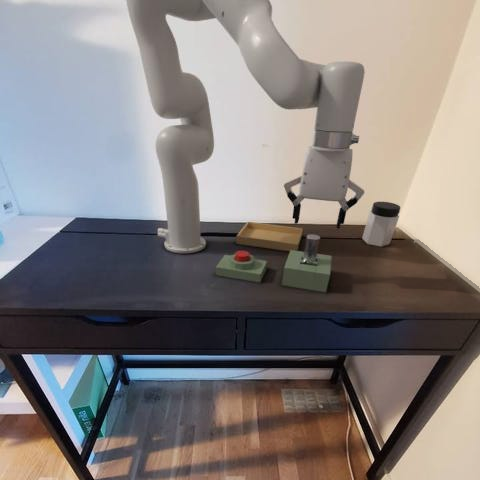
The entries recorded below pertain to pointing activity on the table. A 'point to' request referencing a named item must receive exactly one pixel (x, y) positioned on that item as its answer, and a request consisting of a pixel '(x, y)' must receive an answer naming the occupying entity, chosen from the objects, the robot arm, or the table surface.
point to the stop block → (241, 268)
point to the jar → (381, 223)
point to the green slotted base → (307, 272)
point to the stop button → (242, 256)
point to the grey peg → (311, 250)
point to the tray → (270, 236)
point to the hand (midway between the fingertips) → (317, 224)
